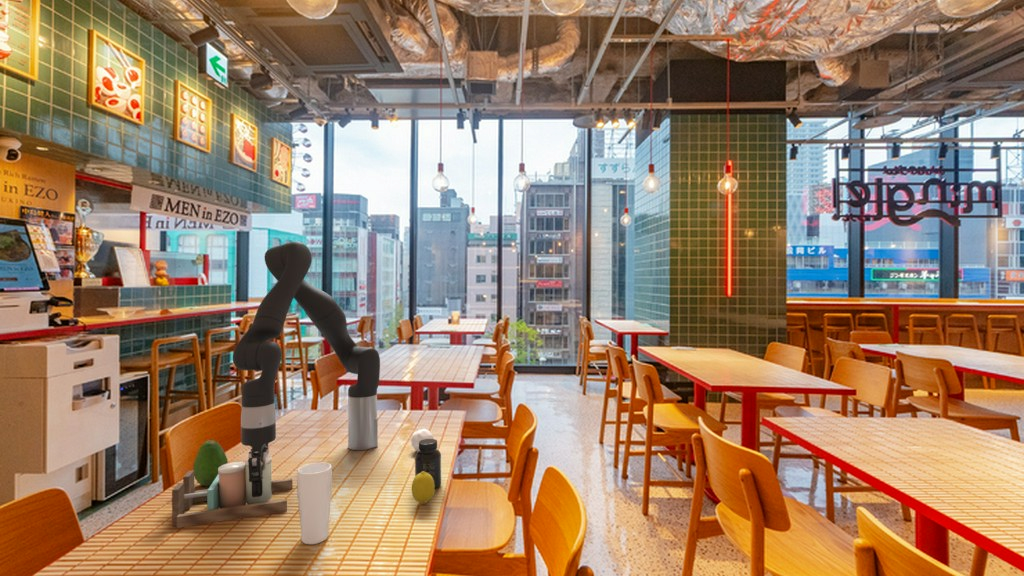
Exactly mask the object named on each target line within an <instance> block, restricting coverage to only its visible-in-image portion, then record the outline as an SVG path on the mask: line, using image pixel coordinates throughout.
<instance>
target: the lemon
mask: <svg viewBox="0 0 1024 576" xmlns="http://www.w3.org/2000/svg"><path fill="white" fill-rule="evenodd" d="M435 491H436V490H435V485H434V480H433V478H432V476H431V475H430V474H428V473H426V472H424V471H422V472H421V473H419V474H417V475H416V476H415V475H414V477H413V480H412V483H411V494H412V498H413V499H414V500H415V501H416V502H418V503H420V504H421V505H425V504H427V502H429V501H431V499H432V498H433V497H434V495H435Z"/></svg>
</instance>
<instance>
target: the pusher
mask: <svg viewBox="0 0 1024 576" xmlns="http://www.w3.org/2000/svg"><path fill="white" fill-rule="evenodd" d="M207 489H208V490H207V491H206V492H198V493H191V494H184V499H187V498H195V497H202V496H207V503H206V504H207V510H214V509H219V474H218V475H217V477H216V478H215V480H214V481H213V483H212V484H211V486H209V488H207ZM207 510H206V511H207Z"/></svg>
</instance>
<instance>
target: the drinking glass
mask: <svg viewBox="0 0 1024 576" xmlns="http://www.w3.org/2000/svg"><path fill="white" fill-rule="evenodd" d="M296 477H297V478H296V479H297V480H296V485H297V487H296V488H297V489H296V491H297V500H298V503H297V504H298V510H299V522H300V523H299V525H300V531H301V532H300V540H301V542H302V543H303V544H306V545H316V544H319V543H323V541H326V539H327V538H328V537H329V535H330V534H329V533H330V528H329V527H330V526H329V525H330V512H331V500H332V491H333V469H332V464H331V463H329V462H325V461H321V462H320V461H319V462H318V461H317V462H316V461H315V462H311V463H310V462H309V463H307V464H304V465H302V466H299V468H298V469H297V476H296Z"/></svg>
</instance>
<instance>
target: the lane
mask: <svg viewBox="0 0 1024 576" xmlns="http://www.w3.org/2000/svg"><path fill="white" fill-rule="evenodd" d="M293 486H294V485H293V477H292V478H286V479H285V478H283V479H277V480H275V479H274V480H271V488H272V492H281V491H288V490H293ZM208 489H209V488H207V489H198V490H195V476H194V470H193V469H192V470H188V471H187V472H186V473H185V474H184V475H183V477H182V482H178V483H176V485H175V486H174V488H172V490H171V526H172V527H176V528H177V529H178V528H185V527H190V526H191V527H193V526H198V525H204V524H211V523H218V522H224V521H225V522H226V521H229V520H231V521H232V520H236V519H237V520H239V519H242V518H243V519H244V518H245V519H246V518H252V517H257V516H258V517H259V516H262V515H263V516H265V515H268V514H269V515H271V514H276V513H284V512H287V510H288V499H287V498H284V499H278V500H272V501H270V500H269V501H266V502H263V503H256V504H246V505H242V506H235V507H228V508H221V509H214V510H201V511H195V512H194V511H193V512H186V513H185V511H189V510H190V509H191V508H192V507H193V506H194V504H195V503H200V502H201V503H202V502H206V501H205V500H207V496H202V497H195V498H187V499H184V494H191V493H198V492H206V491H207V490H208Z"/></svg>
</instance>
